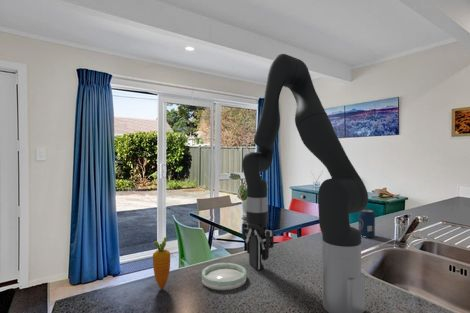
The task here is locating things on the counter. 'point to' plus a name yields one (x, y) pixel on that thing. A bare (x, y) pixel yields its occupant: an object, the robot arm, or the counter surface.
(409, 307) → the counter surface
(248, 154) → the robot arm
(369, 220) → the soda can
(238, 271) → the dish
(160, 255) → the carrot
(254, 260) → the battery charger
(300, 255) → the counter surface
